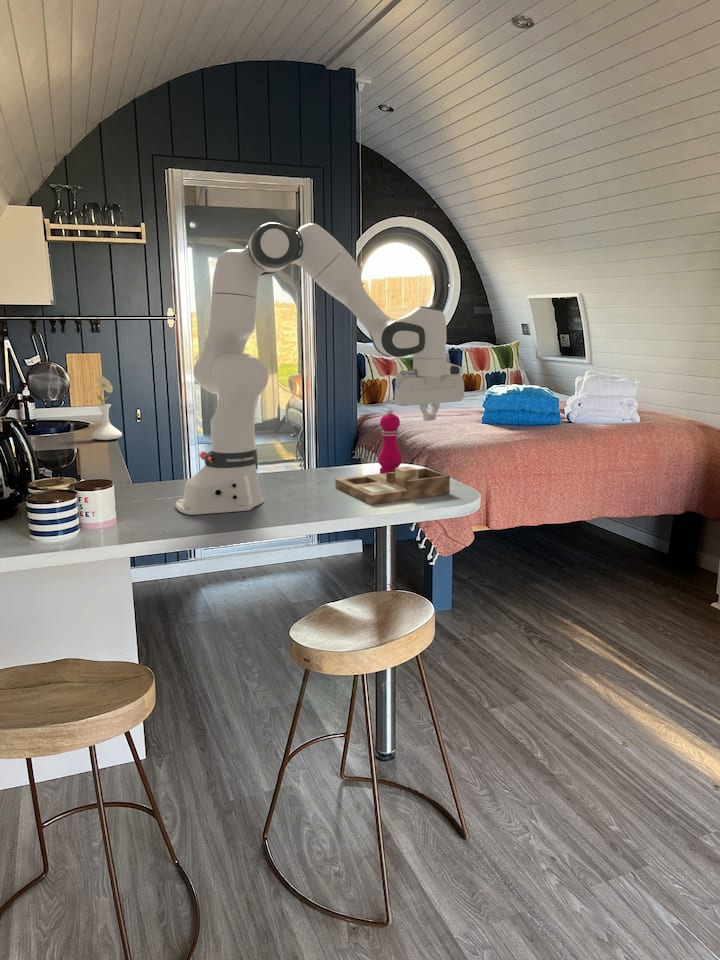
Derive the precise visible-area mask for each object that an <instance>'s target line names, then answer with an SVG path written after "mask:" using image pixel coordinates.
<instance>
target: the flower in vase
mask: <svg viewBox="0 0 720 960" xmlns="http://www.w3.org/2000/svg"><path fill="white" fill-rule="evenodd" d="M96 381H97V384H98V385H99V386H100V387H101V389H100V394H98V395H97V400H98V401H99V400H100V401H101V402H102V404H98V405H97V406H98V407H99V409H100V411H101V414H102V424H101V425H100V426H99V427H98V428H97V429H96V430H95V431H94V432H93V433H92V434H91V435H92V437H91V438H93V439H95V440H99V441H111V440H115V439H119V438H121V437H122V436H123V433H122V432H121V431H120V430H119V429H118V428H116V427H115V426H114V425H113V424H112V423H110V419H109V417H110V416H109V415H110V414H109V413H110V412H109V411H110V409H111V406H112V404H110V403H104V401H106V400H107V399H109V395H107V397H105V398H104V399H102V392H103V390H104V391H105V392H107V393H109V394H111V393H112V392H113V391H114V390H113V389H114V387H113V386H112V384H111V381H110V380H108V379H107V378H105V376H101V375H99V376H98V377H97V378H96Z"/></svg>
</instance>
